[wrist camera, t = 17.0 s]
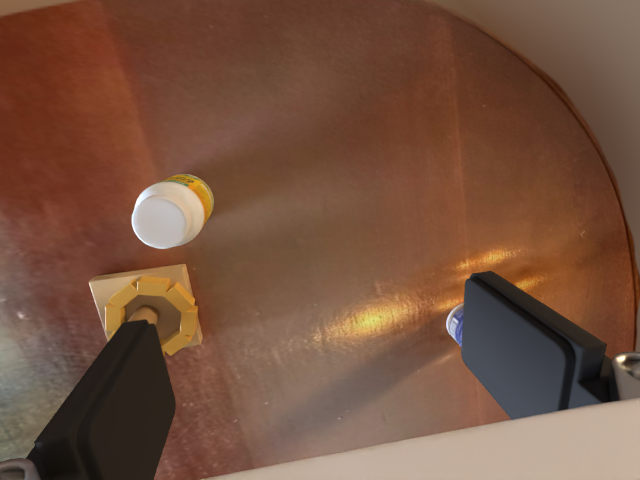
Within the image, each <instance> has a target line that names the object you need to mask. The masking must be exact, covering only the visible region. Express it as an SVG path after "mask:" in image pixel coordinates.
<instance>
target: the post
mask: <svg viewBox="0 0 640 480" xmlns="http://www.w3.org/2000/svg"><path fill="white" fill-rule="evenodd" d="M142 276H145V277H157V278H170V287H171V286H172V285H173V284H175V283H176V282H178V283H179V284H180V285H181V286H182V287H183V288H184V289H185V290H186V291H187V292H188V293H189V294H190V295H191V296H192V297H193V293H192V289H191V285H190V280H189V276H188V272H187V267H186V264H179V265H172V266H165V267H158V268H151V269H143V270H136V271H129V272H122V273H115V274H108V275H101V276H95V277H94V278H93V279H92V280H90V281H89V285H90V288H91V291H92V294H93V297H94V300H95V303H96V306H97V309H98V312H99V315H100V318H101V322H102V325H103V328H104V331H105V334H106V337H107V340H108V342H109V340H110V338H109V336H110V334H111V333H112V332H113V331H106V330H105V306H106V305H107V304H108V303H109V302H110V301H109V299H110V298H111V297H112V296H113V294H115V293H116V292H117V291H118V290H120V289H121V288H122V287H124V286H125V285H126V284H127V283H129V282H130V281H131V280H133V279H134V278H135V279H136V280H137V281H138V280H139V279H140V278H141V277H142ZM193 306H195V302H194V305H193ZM143 319H146V320H147V321H148V322H149V324H151V323H154V324H155V326H156V328H157V332H158V336H159V339H167V338H168V337H170V336H171V335H172V334H174V333H175V332H176V331H178V330H179V329H180V324H181V312H180V311H179V310H178V309H177V308H176V307H175V306H174V305H173V304H172V303H170V302H169V301H168V300H167V299H166V298H165V297H164V296H152V295H138V296H137V297H135V298H134V299H133V300H131V301H130V302H129V303H128V304H126V322H129V321H136V320H143ZM202 338H203V336H202V332H201V328H200V323H199V319H198V315H197V328H196V331H195V334H194V335H193V336H192V339H191V341H190V342H189V343H188V344H186V345H185V346H184V347H182V348H185V347H191V346H197V345H200V344H201V341H202Z"/></svg>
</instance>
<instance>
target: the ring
mask: <svg viewBox="0 0 640 480" xmlns="http://www.w3.org/2000/svg"><path fill="white" fill-rule="evenodd" d="M138 295H152V296H164V297H165V298H166V299H167V300H168V301H169V302H170V303H172V304H173V305H174V306H175V307H176V308H177V309H178V310H179V311H180V312H181V324H180V329H179V330H178V331H176V332H175V333H174V334H172V335H171V336H170V337H168V338H167V339H159V340H160V344H161V347H162V351H163V355H164V356H165V354H166V352H167V353H168V354H169V355H170V356H172V355H173V354H174V353H176V352H177V351H178V350H180V349H181V348H182V347H184V346H185V345H186V344H188V343H189V342H190V341H191V339H192V336H193V335H194V334H195V331H196V328H197V314H198V306H193V305H194V302H195V299H194V298H193V297H192V296H191V295H190V294H189V293H188V292H187V291H186V290H185V289H184V288H183V287H182V286H181V285H180V284H179V283H178V282H176V283H175V284H173V285H172V286H171V287H170V278H157V277H145V276H142V277H141V278H140V279H139V280H138V281H137V280H136V279H135V278H134V279H133V280H131V281H130V282H129V283H127V284H126V285H125V286H124V287H122V288H121V289H120V290H118V291H117V292H116V293H115V294H113V296H112V297H111V298H110V299H109V301H110V302H109V303H108V304H107V305H106V306H105V330H106V331H113V332H112V333H111V334H110V336H109V338H110V339H111V338H112V336H113V335H114V334H115V332H116V331H117V329H118V328H119V327H120V325H121V324H122V323H123V322H126V304H128V303H129V302H130V301H131V300H133V299H134V298H135V297H137V296H138Z"/></svg>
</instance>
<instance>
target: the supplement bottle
mask: <svg viewBox="0 0 640 480" xmlns="http://www.w3.org/2000/svg"><path fill="white" fill-rule="evenodd" d="M213 206H214V199H213V194H212V192H211V190H210V188H209V187H208V185H207V184H206V183H205V182H203V181H202V180H201V179H199V178H197V177H195V176H192V175H189V174H179V175H175V176H172V177H169V178H167V179H165V180H163V181H161V182H158V183H156V184H154V185H152V186H150V187H148V188H147V189H146V190H144V191H143V192H142V193H141V195H140V196H139V198H138V200H137V202H136V205H135V209H134V212H133V215H132V226H133V229H134V231H135V233H136V235H137V236H138V238H139V239H140V240H141V241H143V242H144V243H145V244H147V245H149V246H152V247H155V248H162V249H164V248H170V247H174V246H180V245H183V244H186V243H188V242H190V241H191V240H192V239H194V238H195V237H196V236H197V235H198V234H199V232H200V231H201V229H202V227H203V226H204V224H205V223H206V221H207V220H208V218H209V217H210V215H211V213H212V210H213Z"/></svg>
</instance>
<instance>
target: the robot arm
mask: <svg viewBox="0 0 640 480" xmlns="http://www.w3.org/2000/svg"><path fill="white" fill-rule="evenodd" d="M606 346H607V344H606V343H604V342H602V341H601V340H599V339H598V338H596V337H595V336H593V335H591V334H590V333H588V332H587V331H585V330H584V329H582V328H580V327H579V326H577V325H576V324H574V323H573V322H571V321H569V320H568V319H566V318H565V317H563V316H562V315H560V314H558V313H557V312H555V311H554V310H552V309H551V308H549V307H547V306H546V305H544V304H543V303H541V302H540V301H538V300H536V299H535V298H533V297H532V296H530V295H529V294H527V293H525V292H524V291H522V290H521V289H519V288H518V287H516V286H514V285H513V284H511V283H510V282H508V281H507V280H505V279H503V278H502V277H500V276H499V275H497V274H496V273H494V272H492V271H488V272H481V273H473V274H472V275H471V276H470V279H467V280H466V282H465V294H464V311H463V329H462V347H461V354H462V358H463V361H464V363H465V364H466V366H467V367H468V368H469V369H470V370H471V372H472V373H473V374H474V375H475V376H476V378H477V379H478V380H479V381H480V382H481V383H482V385H483V386H484V387H485V388H486V389H487V391H488V392H489V393H490V394H491V395H492V397H493V398H494V399H495V400H496V401H497V403H498V404H499V405H500V406H501V407H502V408H503V410H504V411H505V412H506V413H507V414H508V416H509V417H510V418H511V419H512V420H507V421H502V422H497V423H491V424H486V425H481V426H475V427H470V428H465V429H459V430H454V431H449V432H444V433H438V434H433V435H428V436H423V437H417V438H412V439H407V440H402V441H396V442H391V443H386V444H381V445H375V446H370V447H365V448H360V449H355V450H349V451H344V452H339V453H334V454H329V455H323V456H318V457H313V458H308V459H303V460H297V461H292V462H287V463H282V464H277V465H272V466H266V467H261V468H256V469H251V470H246V471H241V472H236V473H231V474H226V475H221V476H216V477H211V478H206V479H200V480H640V352H622V353H618V354H616V355H615V356H614V357H613V358H612V360H611V359H610V358H608V357H607V356H605V350H606ZM175 406H176V404H175V397H174V393H173V390H172V386H171V382H170V378H169V374H168V370H167V367H166V363H165V359H164V355H163V351H162V347H161V344H160V340H159V336H158V332H157V328H156V326H155V324H154V323H151V324H149V322H148V321H147V320H146V319H143V320H136V321H129V322H123V323H122V324H121V325H120V327H119V328H118V329H117V331H116V332H115V334H114V335H113V336H112V338H111V339H110V340H109V342H108V343H107V344H106V346H105V347H104V348H103V350H102V351H101V352H100V354H99V355H98V357H97V358H96V359H95V361H94V362H93V363H92V365H91V366H90V367H89V369H88V370H87V371H86V373H85V374H84V375H83V377H82V378H81V380H80V381H79V382H78V384H77V385H76V386H75V388H74V389H73V390H72V392H71V393H70V394H69V396H68V397H67V398H66V400H65V401H64V403H63V404H62V405H61V407H60V408H59V409H58V411H57V412H56V413H55V415H54V416H53V417H52V419H51V420H50V422H49V423H48V424H47V426H46V427H45V428H44V430H43V431H42V432H41V434H40V435H39V436H38V438H37V439H36V440H35V442H34V443H35V446H34V448H33V449H32V450H31V452H30V453H29V454H28V456H27V457H26V459H24V458H16V459H9V460H6V461H3V462H0V480H153V479H154V476H155V473H156V470H157V467H158V464H159V460H160V457H161V454H162V451H163V448H164V445H165V442H166V439H167V436H168V433H169V429H170V426H171V423H172V420H173V417H174V414H175Z"/></svg>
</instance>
